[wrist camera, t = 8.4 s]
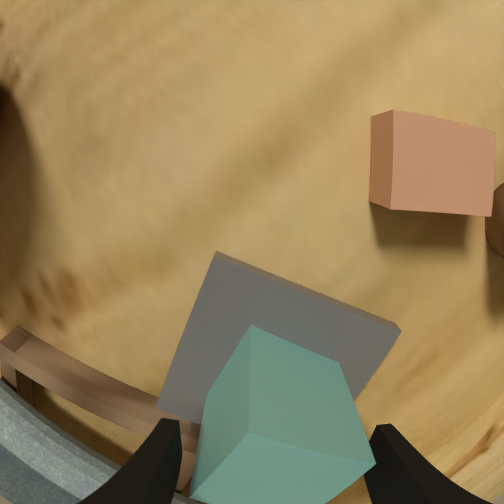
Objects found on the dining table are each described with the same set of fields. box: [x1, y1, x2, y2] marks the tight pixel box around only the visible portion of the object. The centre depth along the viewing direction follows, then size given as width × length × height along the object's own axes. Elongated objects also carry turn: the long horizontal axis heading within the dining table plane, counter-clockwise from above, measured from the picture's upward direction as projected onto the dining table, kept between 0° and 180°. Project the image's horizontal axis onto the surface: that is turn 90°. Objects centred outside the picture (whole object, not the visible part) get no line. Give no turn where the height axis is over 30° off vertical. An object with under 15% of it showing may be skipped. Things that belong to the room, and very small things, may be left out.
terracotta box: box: [369, 110, 495, 217], centre depth 11 cm, size 5×4×2 cm
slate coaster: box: [155, 251, 401, 424], centre depth 14 cm, size 9×9×1 cm
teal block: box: [188, 325, 376, 504], centre depth 11 cm, size 4×4×6 cm
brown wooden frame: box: [0, 326, 201, 494], centre depth 17 cm, size 12×27×2 cm, turn 157°
